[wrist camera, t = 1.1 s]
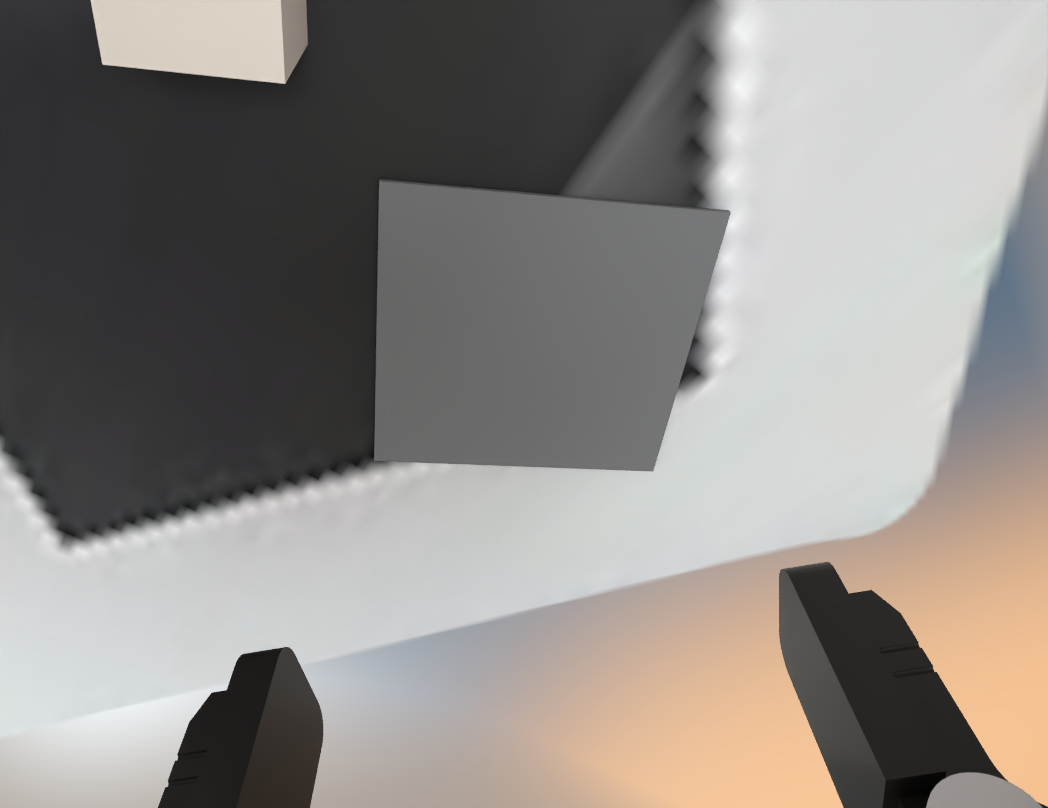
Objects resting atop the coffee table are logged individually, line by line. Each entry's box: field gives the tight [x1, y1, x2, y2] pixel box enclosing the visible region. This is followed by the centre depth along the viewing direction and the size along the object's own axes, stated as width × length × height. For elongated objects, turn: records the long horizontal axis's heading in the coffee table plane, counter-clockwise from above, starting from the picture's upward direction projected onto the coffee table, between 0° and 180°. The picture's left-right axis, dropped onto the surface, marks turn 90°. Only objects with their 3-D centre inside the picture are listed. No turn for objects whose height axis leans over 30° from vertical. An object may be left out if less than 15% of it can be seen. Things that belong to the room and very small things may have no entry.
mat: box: [374, 179, 730, 471], centre depth 35 cm, size 14×14×1 cm
